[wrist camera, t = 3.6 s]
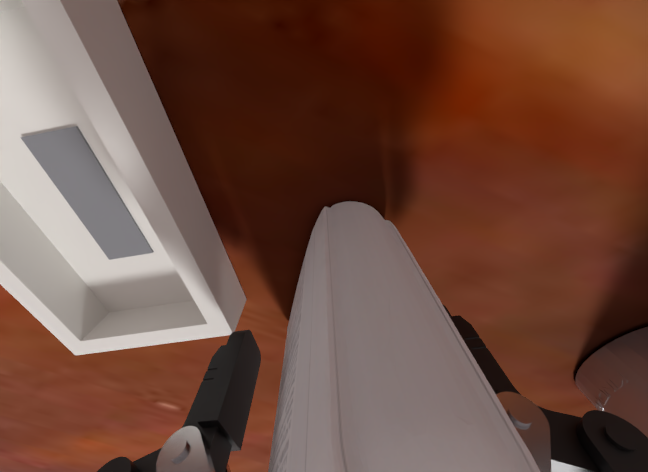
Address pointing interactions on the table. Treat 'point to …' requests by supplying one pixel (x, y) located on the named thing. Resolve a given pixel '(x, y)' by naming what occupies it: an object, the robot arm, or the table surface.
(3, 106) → the dock
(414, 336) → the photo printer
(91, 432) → the table surface
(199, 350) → the table surface
